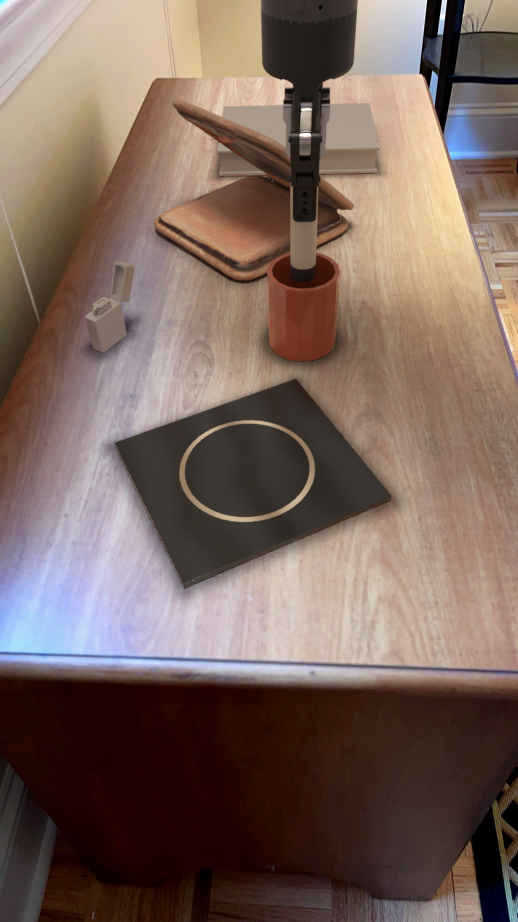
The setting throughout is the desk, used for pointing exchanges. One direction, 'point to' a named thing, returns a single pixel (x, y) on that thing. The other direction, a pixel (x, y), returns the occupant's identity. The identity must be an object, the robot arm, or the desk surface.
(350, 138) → the book
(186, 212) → the case
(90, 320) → the lighter
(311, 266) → the cylinder
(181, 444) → the black flat square pad
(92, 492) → the desk surface
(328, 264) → the pen cup
